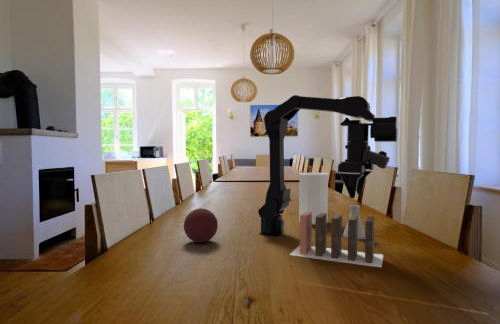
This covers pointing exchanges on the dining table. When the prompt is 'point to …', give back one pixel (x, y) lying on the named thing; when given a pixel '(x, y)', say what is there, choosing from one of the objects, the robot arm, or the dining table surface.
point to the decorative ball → (200, 225)
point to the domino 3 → (336, 235)
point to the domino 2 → (320, 234)
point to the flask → (355, 211)
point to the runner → (341, 257)
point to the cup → (313, 194)
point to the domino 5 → (369, 239)
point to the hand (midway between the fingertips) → (356, 196)
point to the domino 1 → (305, 232)
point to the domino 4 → (352, 237)
